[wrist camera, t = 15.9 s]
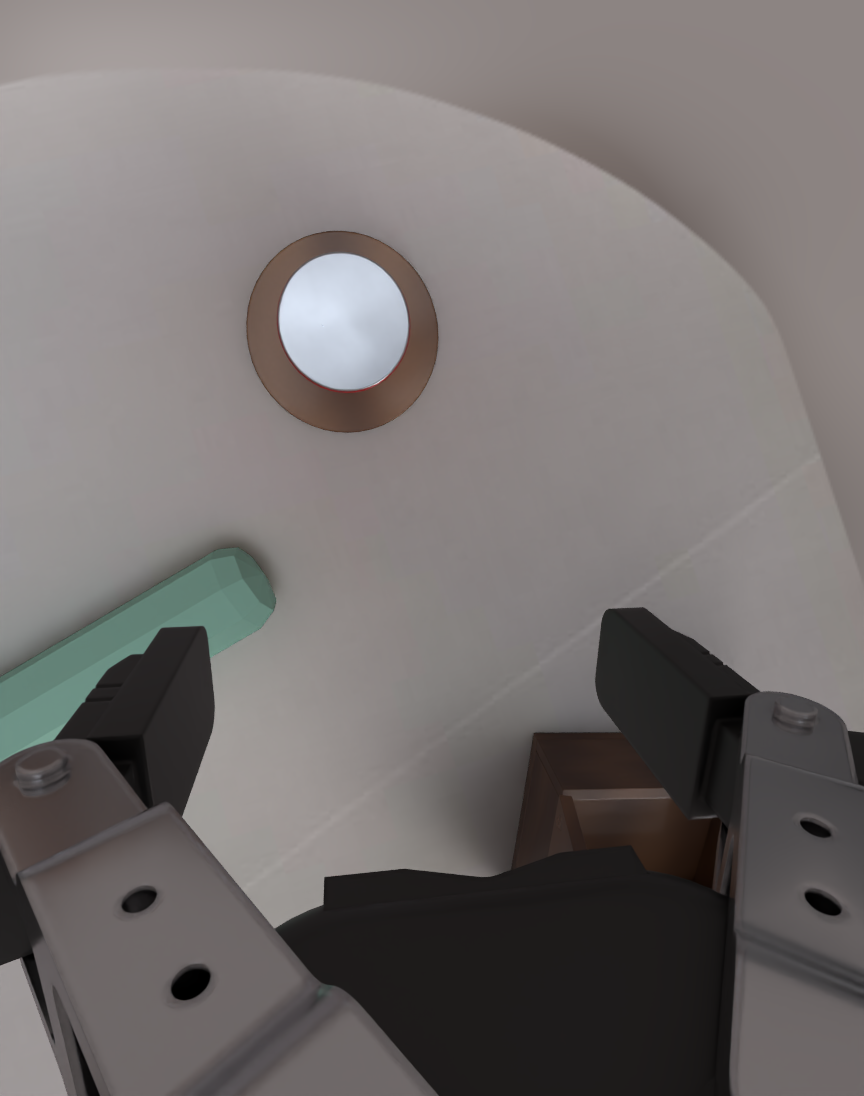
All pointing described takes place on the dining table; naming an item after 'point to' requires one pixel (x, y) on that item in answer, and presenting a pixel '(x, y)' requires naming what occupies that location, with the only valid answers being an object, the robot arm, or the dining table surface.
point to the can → (343, 322)
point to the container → (131, 642)
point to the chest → (611, 806)
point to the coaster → (311, 399)
